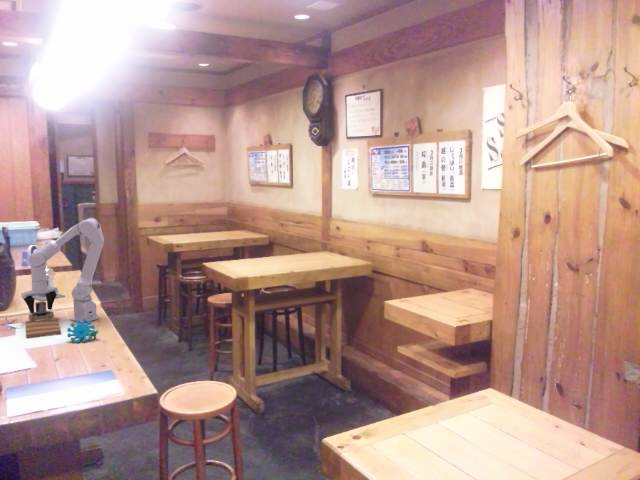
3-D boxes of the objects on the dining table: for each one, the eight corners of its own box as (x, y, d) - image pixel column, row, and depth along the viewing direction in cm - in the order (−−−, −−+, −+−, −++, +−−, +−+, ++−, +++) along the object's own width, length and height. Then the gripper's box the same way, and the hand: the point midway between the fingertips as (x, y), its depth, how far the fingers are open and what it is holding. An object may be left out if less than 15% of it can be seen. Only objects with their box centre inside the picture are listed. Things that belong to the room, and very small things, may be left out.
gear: (63, 340, 201) (71, 316, 207) (65, 347, 205) (73, 324, 211) (93, 343, 202) (100, 319, 208) (95, 350, 207) (102, 327, 213)
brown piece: (60, 333, 213) (60, 326, 213) (26, 338, 207) (26, 330, 207) (56, 316, 238) (56, 309, 238) (25, 319, 232) (25, 313, 232)
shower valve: (49, 283, 282) (65, 286, 274) (50, 293, 283) (66, 297, 274) (25, 287, 272) (41, 291, 264) (26, 297, 273) (42, 302, 264)
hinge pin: (48, 320, 232) (47, 302, 231) (39, 322, 228) (38, 304, 227) (43, 318, 234) (42, 301, 233) (34, 321, 231) (33, 302, 230)
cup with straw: (49, 295, 277) (47, 257, 274) (34, 294, 278) (31, 256, 275) (60, 291, 285) (58, 254, 282) (44, 290, 286) (42, 253, 284)
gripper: (50, 276, 237) (52, 306, 239) (16, 281, 225) (19, 313, 227) (59, 278, 233) (61, 308, 235) (25, 283, 221) (27, 316, 223)
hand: (41, 311), depth 231 cm, fingers open, 7 cm apart
